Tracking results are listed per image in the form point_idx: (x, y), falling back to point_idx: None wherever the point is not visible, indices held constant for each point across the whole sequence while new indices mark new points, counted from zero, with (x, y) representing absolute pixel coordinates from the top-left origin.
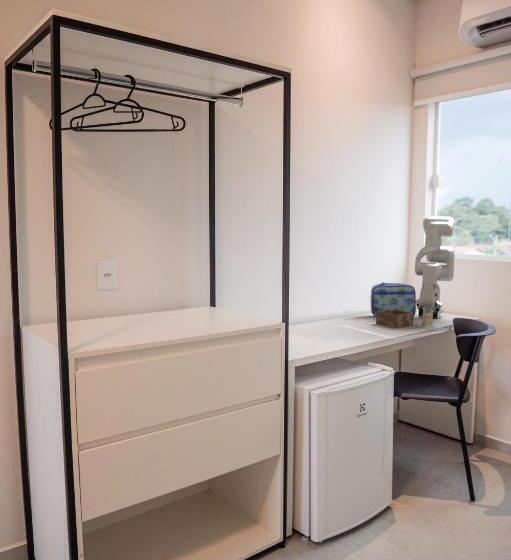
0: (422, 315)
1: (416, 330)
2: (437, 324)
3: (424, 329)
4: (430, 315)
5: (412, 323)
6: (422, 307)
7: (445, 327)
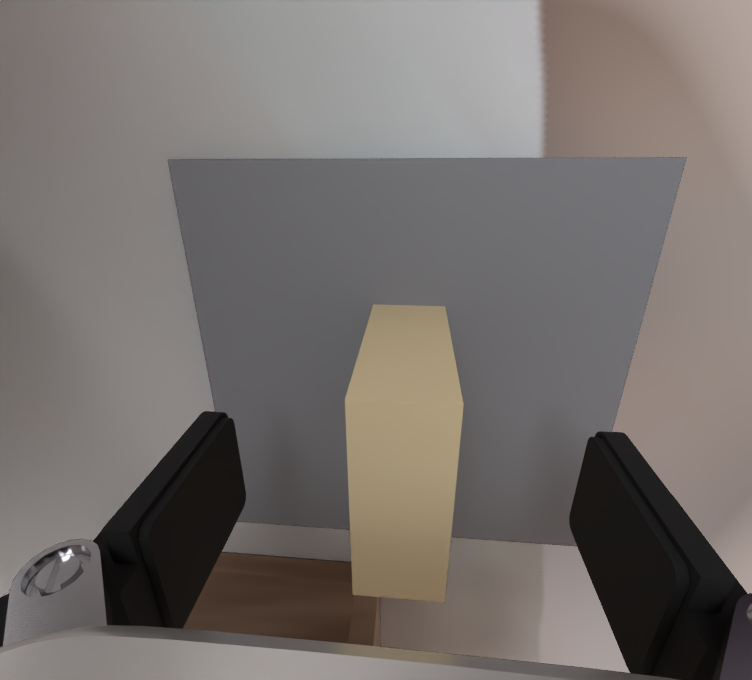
0: (357, 583)
1: (497, 633)
2: (401, 107)
3: (520, 550)
4: (454, 482)
5: (376, 629)
6: (105, 609)
7: (661, 224)
